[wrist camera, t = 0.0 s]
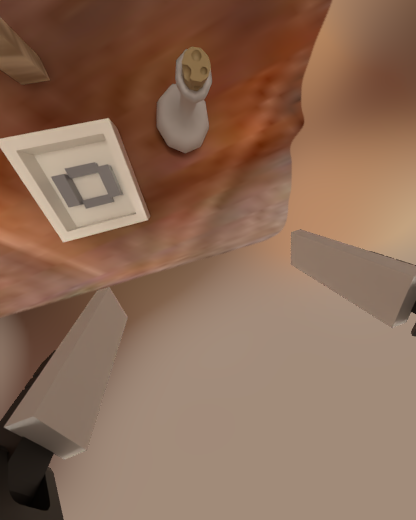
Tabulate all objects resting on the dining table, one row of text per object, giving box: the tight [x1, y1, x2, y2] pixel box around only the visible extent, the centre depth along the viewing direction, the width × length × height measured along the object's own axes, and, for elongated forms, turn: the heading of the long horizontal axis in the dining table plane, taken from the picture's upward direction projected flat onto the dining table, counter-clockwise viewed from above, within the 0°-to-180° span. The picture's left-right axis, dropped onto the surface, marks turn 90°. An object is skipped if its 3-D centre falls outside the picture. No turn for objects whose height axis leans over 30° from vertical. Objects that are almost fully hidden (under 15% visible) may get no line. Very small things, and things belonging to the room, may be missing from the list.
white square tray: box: [0, 118, 150, 242], centre depth 29 cm, size 16×16×4 cm
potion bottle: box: [157, 47, 212, 153], centre depth 22 cm, size 9×9×18 cm
